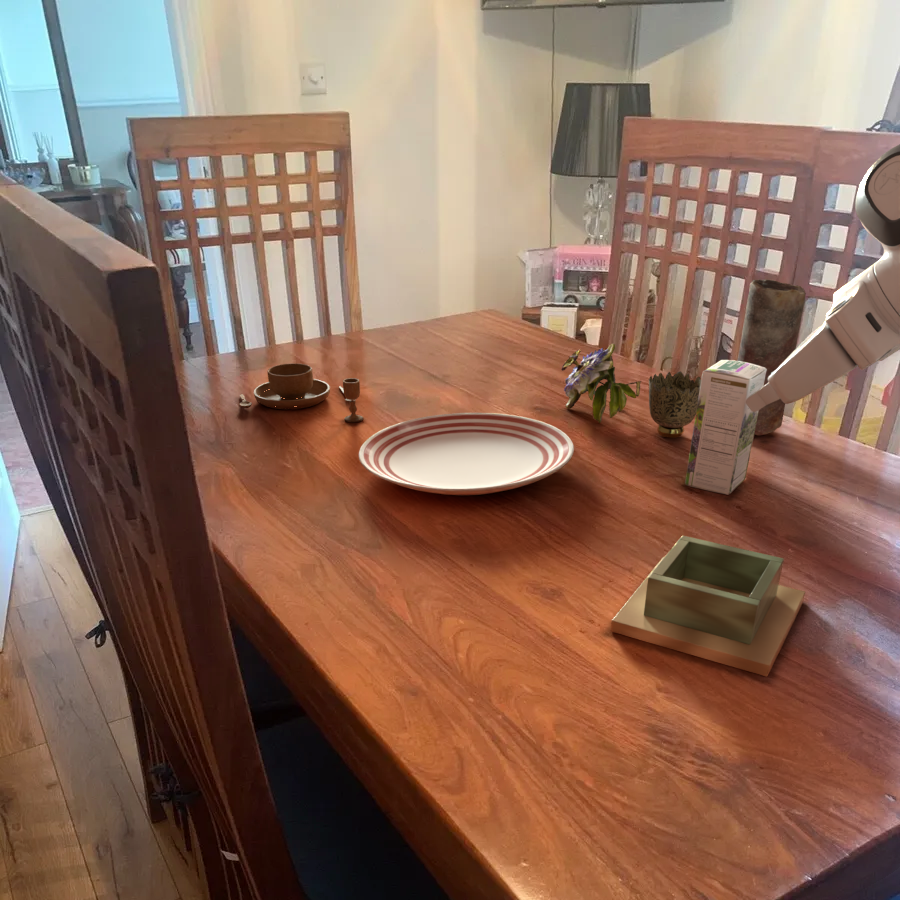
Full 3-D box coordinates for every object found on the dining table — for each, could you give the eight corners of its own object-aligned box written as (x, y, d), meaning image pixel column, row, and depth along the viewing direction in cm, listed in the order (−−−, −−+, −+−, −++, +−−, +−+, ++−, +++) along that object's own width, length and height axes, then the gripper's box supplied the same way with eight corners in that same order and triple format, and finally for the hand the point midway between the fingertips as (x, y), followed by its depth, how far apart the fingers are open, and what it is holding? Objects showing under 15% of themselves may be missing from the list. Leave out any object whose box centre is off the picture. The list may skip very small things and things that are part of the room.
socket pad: (803, 601, 82) (814, 554, 80) (767, 677, 72) (778, 624, 70) (661, 566, 89) (667, 521, 86) (610, 631, 79) (615, 582, 76)
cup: (708, 437, 120) (716, 380, 116) (671, 448, 117) (678, 390, 113) (668, 422, 126) (675, 368, 122) (632, 433, 122) (637, 377, 118)
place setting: (340, 383, 144) (337, 347, 141) (368, 420, 128) (366, 381, 125) (234, 394, 140) (229, 358, 137) (249, 435, 123) (244, 395, 120)
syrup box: (701, 471, 110) (718, 357, 103) (747, 481, 107) (768, 365, 100) (683, 485, 106) (700, 368, 99) (730, 497, 103) (751, 377, 96)
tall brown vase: (743, 418, 127) (767, 275, 117) (790, 429, 123) (819, 282, 112) (715, 431, 123) (738, 283, 112) (763, 443, 118) (791, 291, 108)
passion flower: (569, 442, 134) (553, 368, 135) (638, 427, 134) (622, 353, 135) (575, 423, 123) (557, 343, 124) (650, 407, 123) (632, 326, 123)
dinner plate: (321, 494, 105) (319, 468, 104) (411, 422, 127) (411, 400, 126) (537, 528, 97) (538, 501, 95) (594, 445, 118) (596, 421, 117)
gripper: (871, 274, 97) (768, 349, 107) (835, 313, 83) (719, 396, 92) (904, 319, 98) (798, 390, 107) (874, 365, 83) (754, 443, 93)
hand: (761, 393), depth 100 cm, fingers open, 8 cm apart
